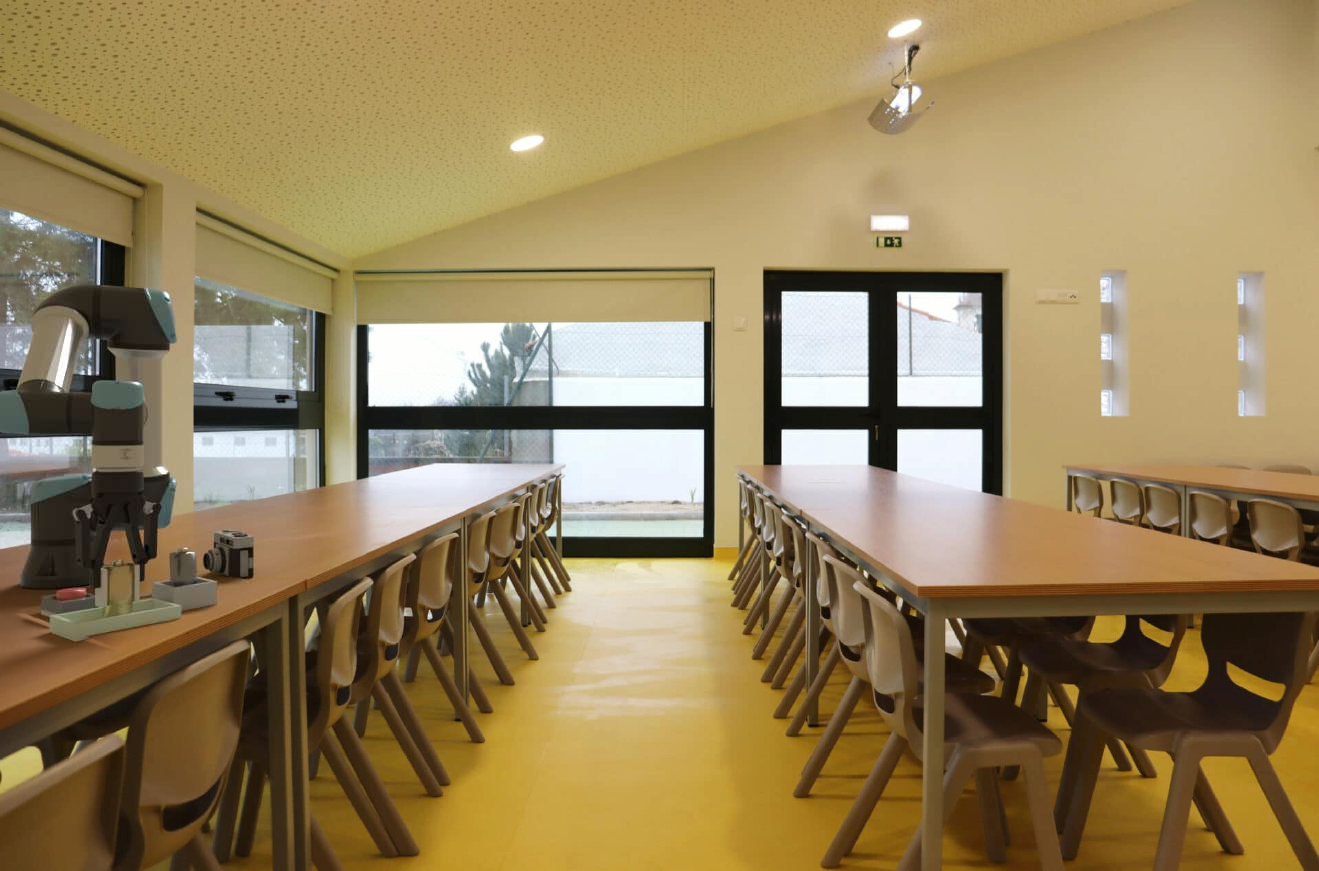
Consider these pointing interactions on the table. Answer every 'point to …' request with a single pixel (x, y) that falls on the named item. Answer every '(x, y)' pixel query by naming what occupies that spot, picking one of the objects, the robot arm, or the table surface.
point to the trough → (112, 619)
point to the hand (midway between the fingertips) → (117, 603)
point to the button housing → (66, 604)
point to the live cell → (119, 589)
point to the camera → (231, 554)
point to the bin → (187, 593)
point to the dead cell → (183, 567)
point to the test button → (70, 593)
